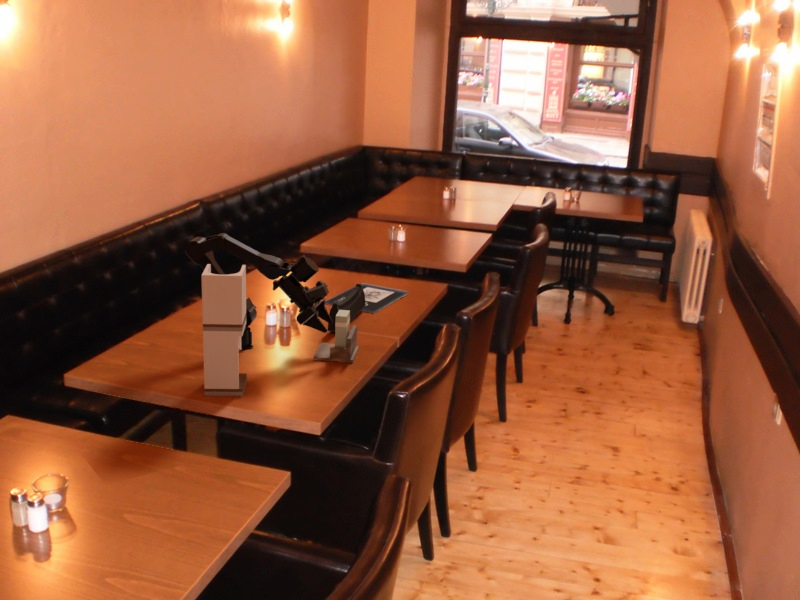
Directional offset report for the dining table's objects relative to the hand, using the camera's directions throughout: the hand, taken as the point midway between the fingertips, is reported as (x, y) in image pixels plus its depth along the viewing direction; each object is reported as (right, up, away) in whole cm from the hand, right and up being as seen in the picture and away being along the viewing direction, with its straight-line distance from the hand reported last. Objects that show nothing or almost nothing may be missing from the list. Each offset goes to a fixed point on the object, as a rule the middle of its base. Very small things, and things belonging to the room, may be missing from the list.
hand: (328, 327), depth 271 cm
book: (+4, -8, +2) cm, 9 cm away
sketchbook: (+10, +8, +61) cm, 63 cm away
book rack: (+2, -9, +2) cm, 9 cm away
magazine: (+4, +1, +34) cm, 34 cm away
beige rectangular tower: (-27, -17, -27) cm, 42 cm away
